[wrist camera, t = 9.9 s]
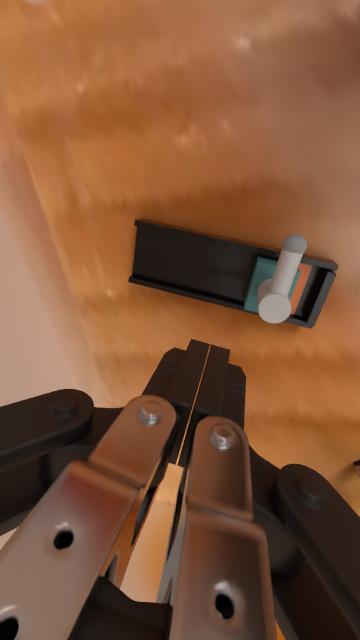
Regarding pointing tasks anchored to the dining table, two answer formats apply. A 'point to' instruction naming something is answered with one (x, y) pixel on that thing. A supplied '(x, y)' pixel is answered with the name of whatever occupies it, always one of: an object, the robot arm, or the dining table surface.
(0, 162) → the dining table surface
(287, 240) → the handle
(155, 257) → the rail
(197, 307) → the dining table surface
